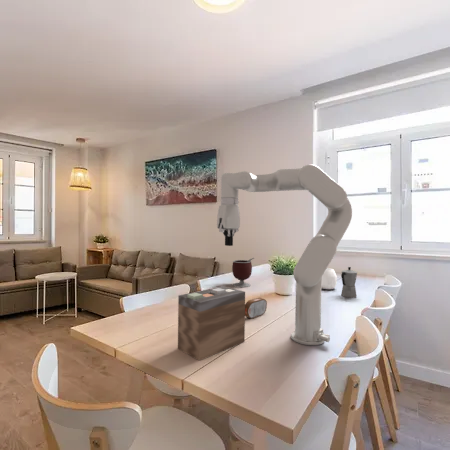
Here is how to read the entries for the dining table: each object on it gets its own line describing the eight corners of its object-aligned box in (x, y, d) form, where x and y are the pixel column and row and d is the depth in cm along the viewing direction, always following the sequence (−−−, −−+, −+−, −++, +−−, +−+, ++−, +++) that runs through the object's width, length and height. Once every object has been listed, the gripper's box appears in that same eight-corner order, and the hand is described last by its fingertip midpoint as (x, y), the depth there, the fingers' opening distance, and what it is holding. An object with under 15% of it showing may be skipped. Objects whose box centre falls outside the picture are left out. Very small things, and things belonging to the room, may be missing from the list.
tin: (262, 312, 146) (263, 295, 146) (267, 313, 144) (268, 296, 144) (242, 319, 136) (243, 301, 136) (247, 320, 134) (248, 302, 134)
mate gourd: (229, 286, 202) (230, 257, 202) (234, 282, 215) (235, 255, 215) (251, 288, 198) (252, 259, 197) (255, 284, 211) (256, 256, 211)
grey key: (225, 296, 109) (225, 289, 109) (218, 297, 106) (218, 291, 106) (218, 294, 111) (218, 287, 111) (211, 295, 109) (211, 289, 109)
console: (244, 341, 110) (245, 291, 110) (199, 360, 95) (200, 302, 95) (222, 332, 119) (223, 286, 119) (177, 348, 104) (178, 295, 103)
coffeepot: (346, 292, 189) (347, 265, 189) (361, 295, 182) (362, 267, 181) (334, 296, 179) (334, 267, 179) (349, 299, 172) (349, 269, 172)
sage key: (202, 301, 101) (202, 294, 101) (194, 303, 98) (194, 296, 98) (195, 299, 104) (196, 292, 104) (187, 301, 101) (187, 294, 101)
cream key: (235, 296, 113) (235, 290, 113) (228, 298, 110) (228, 292, 110) (228, 294, 115) (228, 288, 115) (221, 296, 113) (221, 290, 113)
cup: (319, 285, 210) (320, 266, 210) (339, 288, 202) (339, 268, 202) (313, 288, 199) (314, 269, 199) (333, 291, 192) (333, 271, 192)
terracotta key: (214, 302, 105) (214, 295, 105) (206, 304, 102) (206, 297, 102) (207, 299, 108) (207, 293, 108) (199, 301, 105) (199, 295, 105)
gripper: (235, 203, 132) (234, 244, 133) (210, 202, 122) (209, 245, 122) (247, 203, 127) (247, 245, 127) (222, 201, 117) (222, 247, 117)
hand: (228, 245), depth 125 cm, fingers closed
